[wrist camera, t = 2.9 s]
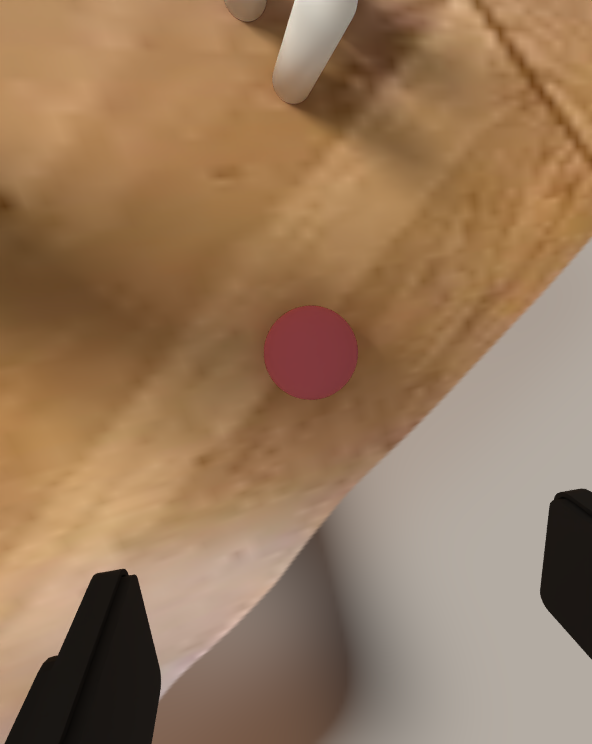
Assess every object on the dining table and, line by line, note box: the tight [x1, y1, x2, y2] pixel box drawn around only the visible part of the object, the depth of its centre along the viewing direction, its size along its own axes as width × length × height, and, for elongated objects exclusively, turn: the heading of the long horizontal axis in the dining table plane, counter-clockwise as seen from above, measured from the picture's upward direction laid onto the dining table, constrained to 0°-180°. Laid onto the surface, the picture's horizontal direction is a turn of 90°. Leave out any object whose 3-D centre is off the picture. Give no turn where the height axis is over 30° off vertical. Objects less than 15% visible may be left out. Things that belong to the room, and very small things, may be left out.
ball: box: [264, 306, 358, 400], centre depth 26 cm, size 6×6×6 cm
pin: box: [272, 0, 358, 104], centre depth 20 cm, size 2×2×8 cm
